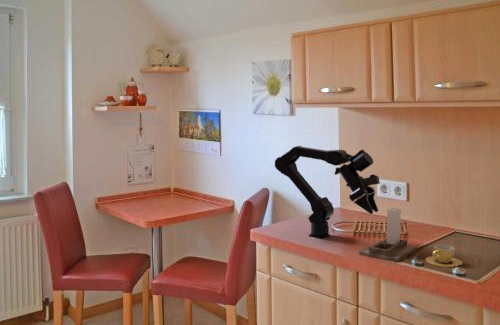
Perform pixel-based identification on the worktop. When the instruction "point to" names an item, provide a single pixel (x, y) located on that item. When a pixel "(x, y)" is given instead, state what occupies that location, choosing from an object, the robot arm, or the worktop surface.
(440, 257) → the cup
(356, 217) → the worktop surface
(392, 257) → the rack
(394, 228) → the clay block
